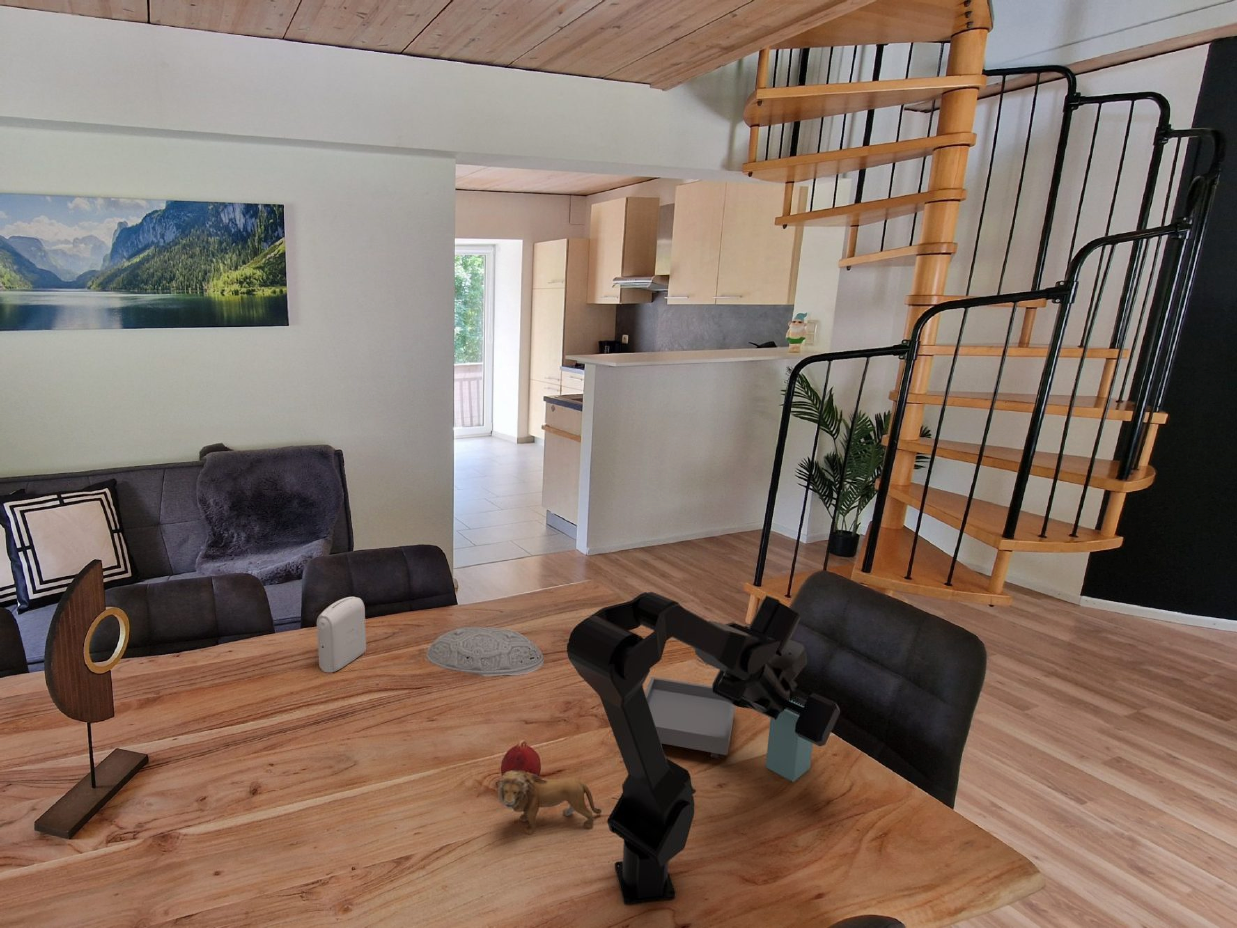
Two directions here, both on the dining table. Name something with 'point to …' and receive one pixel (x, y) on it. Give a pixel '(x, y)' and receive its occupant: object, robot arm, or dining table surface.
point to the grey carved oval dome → (485, 652)
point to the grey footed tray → (690, 715)
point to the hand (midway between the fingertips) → (790, 719)
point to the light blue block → (787, 747)
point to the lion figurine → (543, 796)
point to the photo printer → (341, 634)
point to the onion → (521, 759)
